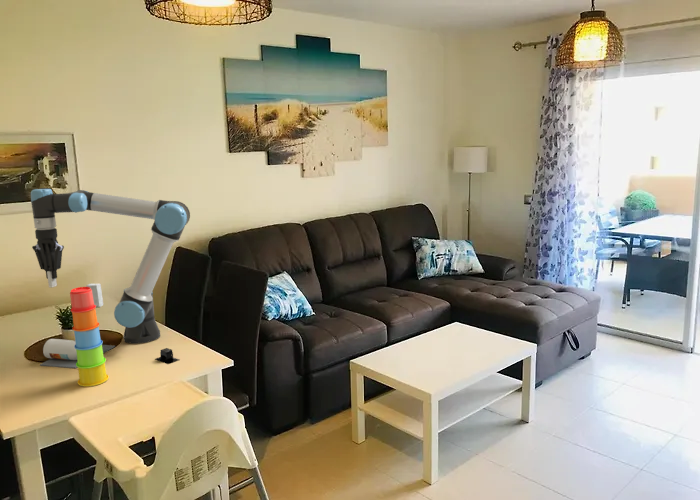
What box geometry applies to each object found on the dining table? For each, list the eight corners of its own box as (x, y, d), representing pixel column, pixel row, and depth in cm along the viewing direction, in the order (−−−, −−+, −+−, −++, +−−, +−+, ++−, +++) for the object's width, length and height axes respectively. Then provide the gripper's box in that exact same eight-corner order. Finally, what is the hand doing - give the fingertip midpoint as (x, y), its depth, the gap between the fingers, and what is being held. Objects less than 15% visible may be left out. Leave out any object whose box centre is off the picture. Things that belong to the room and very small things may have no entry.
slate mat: (115, 346, 237) (115, 345, 237) (75, 368, 214) (75, 367, 214) (82, 344, 241) (82, 343, 241) (40, 365, 218) (39, 364, 218)
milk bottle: (40, 346, 219) (86, 350, 215) (52, 334, 225) (97, 338, 222) (46, 362, 222) (91, 366, 219) (58, 349, 229) (102, 353, 226)
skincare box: (103, 305, 303) (101, 283, 301) (99, 307, 298) (97, 285, 296) (92, 305, 303) (90, 283, 301) (88, 307, 299) (85, 285, 297)
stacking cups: (114, 380, 203) (104, 286, 196) (85, 389, 195) (74, 292, 189) (101, 373, 209) (91, 282, 203) (72, 381, 202) (61, 288, 196)
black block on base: (184, 361, 221) (183, 350, 220) (168, 367, 215) (167, 356, 214) (165, 354, 228) (164, 344, 227) (149, 360, 222) (148, 349, 222)
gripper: (24, 229, 219) (32, 288, 223) (52, 229, 216) (60, 289, 220) (38, 226, 226) (46, 283, 230) (66, 227, 223) (73, 284, 227)
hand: (53, 286), depth 225 cm, fingers closed
